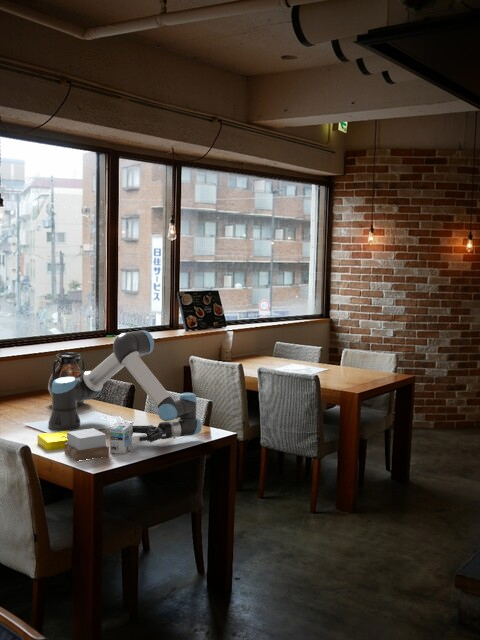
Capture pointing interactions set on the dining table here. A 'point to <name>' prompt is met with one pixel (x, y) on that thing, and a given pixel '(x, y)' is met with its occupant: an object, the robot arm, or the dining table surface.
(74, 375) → the amphora vase
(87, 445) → the tower top
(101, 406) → the dining table surface
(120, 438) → the light bulb box
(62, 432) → the element tile
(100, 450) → the tower base
